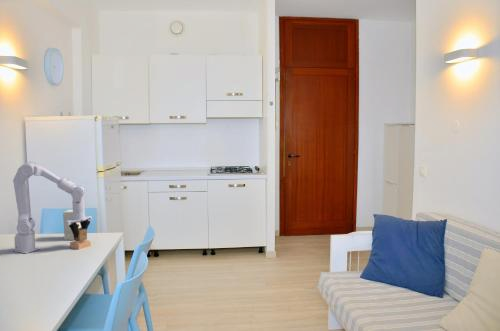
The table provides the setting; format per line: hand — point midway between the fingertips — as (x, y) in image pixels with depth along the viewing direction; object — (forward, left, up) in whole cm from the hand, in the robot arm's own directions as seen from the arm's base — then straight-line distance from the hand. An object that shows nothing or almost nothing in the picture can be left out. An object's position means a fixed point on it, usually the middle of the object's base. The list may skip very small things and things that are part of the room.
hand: (80, 236), depth 216 cm
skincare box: (-17, +9, -6) cm, 20 cm away
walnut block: (0, 0, -2) cm, 2 cm away
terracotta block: (0, 0, -6) cm, 6 cm away
